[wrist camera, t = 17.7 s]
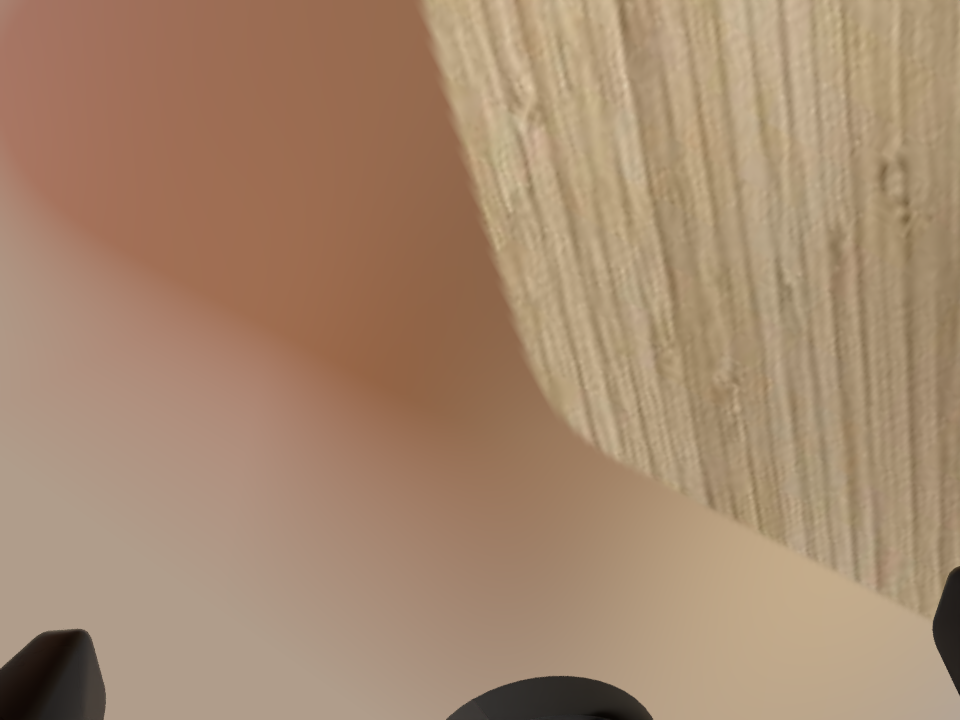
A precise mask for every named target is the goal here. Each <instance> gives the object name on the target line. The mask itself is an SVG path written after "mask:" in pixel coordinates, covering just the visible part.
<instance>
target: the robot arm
mask: <svg viewBox="0 0 960 720" xmlns="http://www.w3.org/2000/svg"><path fill="white" fill-rule="evenodd" d="M933 637H934V640H935V644H936V646H937V649H938V651H939V653H940V655H941V657H942V659H943V662H944V664H945V666H946V668H947V670H948V672H949V674H950V676H951V678H952V681H953V683H954V685H955V687H956V689H957V691H958V693H959V695H960V566H959V567H956V568H954V569H953V570H952V571H951V572H950V574H949V576H948V578H947V581H946V584H945V587H944V590H943V593H942V596H941V599H940V602H939V605H938V608H937V611H936V614H935V617H934V620H933ZM105 704H106V693H105V686H104V682H103V679H102V675H101V671H100V668H99V664H98V661H97V657H96V653H95V649H94V646H93V642H92V639H91V637H90V635H89V634H88V632H87V631H85V630H82V629H71V630H57V631H47V632H43V633H41V634H40V635H38V636H37V637H35V638H34V639H33V640H32V641H31V642H30V643H28V644H27V645H26V646H25V647H24V648H23V649H22V650H21V651H20V652H18V654H16V655H15V656H14V657H13V658H12V659H11V660H10V661H9V662H7V663H6V664H5V665H4V666H3V667H2V668H1V669H0V720H103V719H104V713H105ZM591 720H606V719H603V718H595V719H591Z"/></svg>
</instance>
